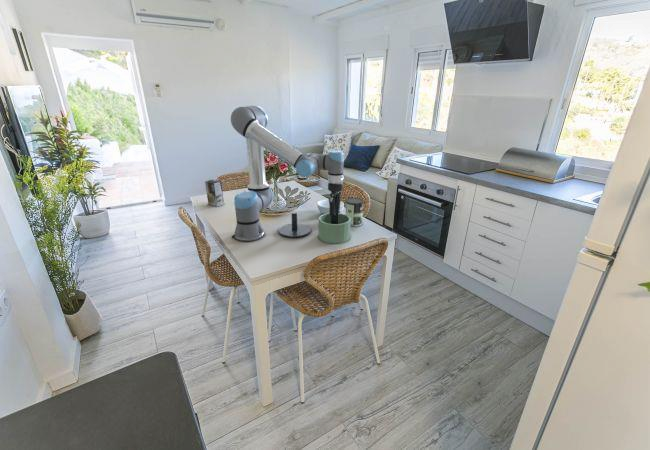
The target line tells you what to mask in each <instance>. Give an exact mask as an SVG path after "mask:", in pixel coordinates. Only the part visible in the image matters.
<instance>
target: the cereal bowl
mask: <svg viewBox="0 0 650 450" xmlns="http://www.w3.org/2000/svg"><path fill="white" fill-rule="evenodd" d="M316 205H317V210H318V211H319V212H320V213H322V215H323V214H326V213H330V209H329V198H326V199H321V200H318V201H317V204H316ZM344 207H345V204H344V202H343V201H341V200H340V210H339V211H340V213H342V212H343V210H344Z"/></svg>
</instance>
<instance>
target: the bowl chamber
mask: <svg viewBox="0 0 650 450" xmlns="http://www.w3.org/2000/svg"><path fill="white" fill-rule="evenodd" d="M329 214H330V213H326V214H323V213H322V214H321V215H319V217H318V239H319V240H320V241H321V242H324V243H327V244H341V243H346V242H347V241H349V240H350V239H351V238H350V237H351V226H350V222H351V219H350V217H349V216H347V215H345V213H342V212H340V213H338V224H331V215H329Z"/></svg>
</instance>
